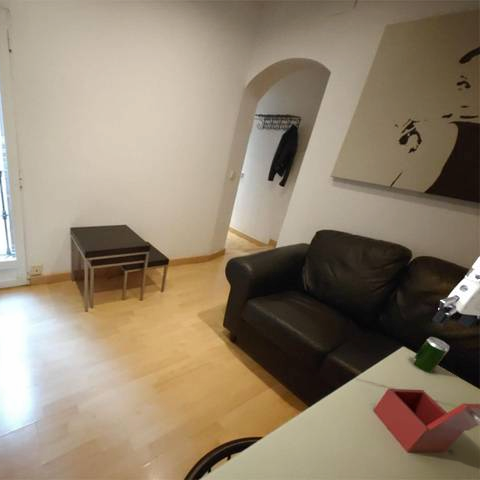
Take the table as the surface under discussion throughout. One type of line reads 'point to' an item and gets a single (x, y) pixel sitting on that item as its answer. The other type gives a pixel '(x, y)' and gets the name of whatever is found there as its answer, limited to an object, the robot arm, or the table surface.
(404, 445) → the red open box
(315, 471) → the table surface
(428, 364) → the beer can
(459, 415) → the lid
